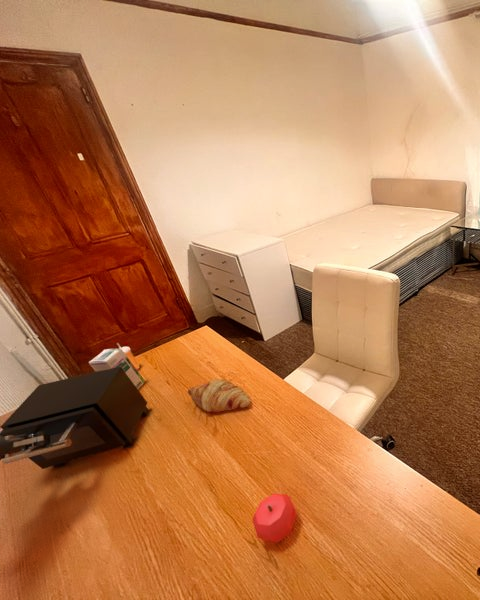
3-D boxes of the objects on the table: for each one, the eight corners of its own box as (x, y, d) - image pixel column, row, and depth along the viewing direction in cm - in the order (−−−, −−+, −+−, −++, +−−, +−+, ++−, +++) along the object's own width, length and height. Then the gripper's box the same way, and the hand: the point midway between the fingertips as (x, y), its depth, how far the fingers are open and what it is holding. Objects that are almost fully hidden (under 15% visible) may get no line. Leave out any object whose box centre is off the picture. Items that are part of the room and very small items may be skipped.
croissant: (261, 406, 93) (261, 380, 93) (236, 421, 83) (237, 392, 83) (202, 396, 98) (203, 371, 97) (173, 409, 88) (173, 382, 87)
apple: (281, 497, 67) (271, 477, 63) (308, 516, 64) (298, 496, 59) (250, 534, 61) (236, 515, 57) (277, 558, 58) (265, 539, 54)
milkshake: (140, 361, 110) (125, 339, 105) (143, 368, 107) (127, 346, 101) (125, 368, 107) (108, 346, 102) (127, 376, 104) (110, 353, 99)
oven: (134, 446, 80) (96, 402, 72) (51, 470, 76) (-1, 427, 67) (151, 408, 91) (120, 366, 82) (79, 427, 87) (38, 385, 78)
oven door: (112, 469, 73) (76, 434, 65) (24, 495, 69) (-26, 461, 61) (126, 442, 79) (93, 406, 71) (45, 464, 75) (2, 429, 67)
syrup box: (133, 395, 96) (106, 360, 88) (115, 396, 96) (87, 361, 89) (146, 381, 101) (122, 347, 93) (128, 382, 101) (103, 348, 94)
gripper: (-1, 423, 53) (81, 413, 70) (-102, 448, 50) (8, 432, 67) (0, 468, 52) (83, 447, 68) (-105, 498, 49) (8, 468, 65)
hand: (45, 440), depth 67 cm, fingers closed
